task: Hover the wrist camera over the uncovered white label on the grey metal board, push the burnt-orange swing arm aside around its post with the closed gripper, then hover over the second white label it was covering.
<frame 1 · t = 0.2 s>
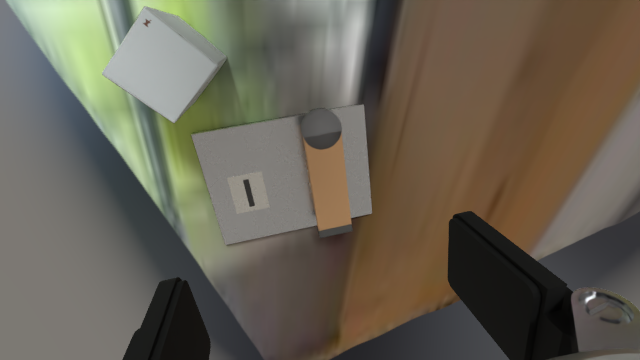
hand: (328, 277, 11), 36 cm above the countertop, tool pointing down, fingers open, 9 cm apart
supplement box: (187, 60, 40), on the countertop
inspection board: (290, 176, 49), on the countertop
swing arm: (327, 175, 45), point 4 cm above the countertop, hinge at 0.0°
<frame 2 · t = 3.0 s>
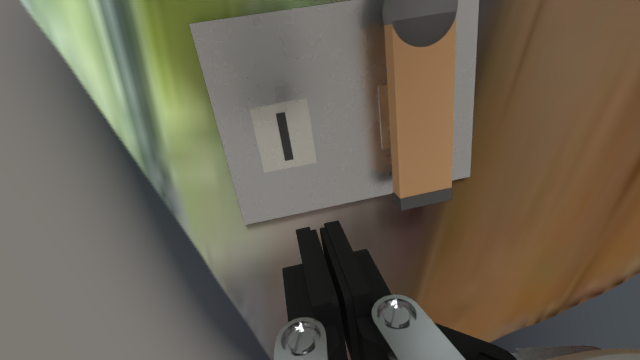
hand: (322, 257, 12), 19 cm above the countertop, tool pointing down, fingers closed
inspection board: (350, 111, 30), on the countertop
swing arm: (420, 101, 27), point 4 cm above the countertop, hinge at 0.0°
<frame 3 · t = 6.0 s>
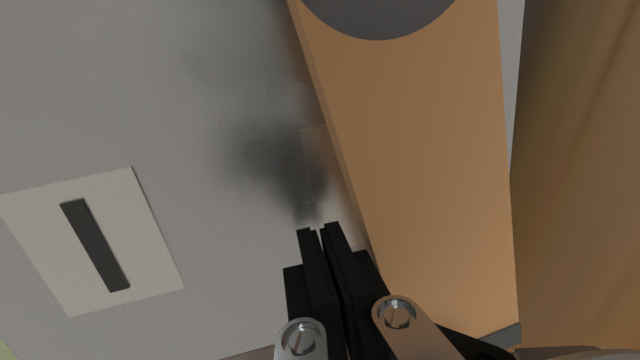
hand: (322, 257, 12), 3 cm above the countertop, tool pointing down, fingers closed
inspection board: (250, 181, 14), on the countertop
swing arm: (421, 167, 11), point 4 cm above the countertop, hinge at 8.6°, touching gripper
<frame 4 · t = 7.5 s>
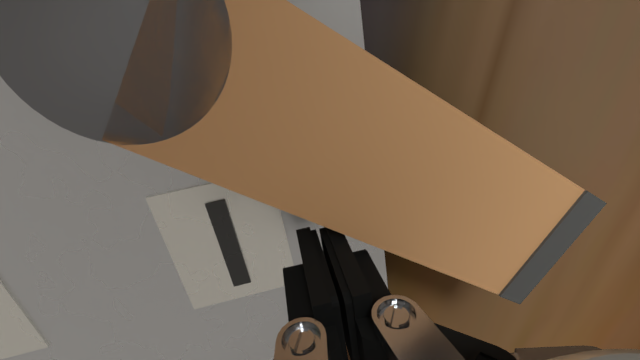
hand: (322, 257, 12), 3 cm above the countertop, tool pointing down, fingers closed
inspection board: (110, 242, 14), on the countertop
swing arm: (354, 148, 10), point 4 cm above the countertop, hinge at 51.8°, touching gripper
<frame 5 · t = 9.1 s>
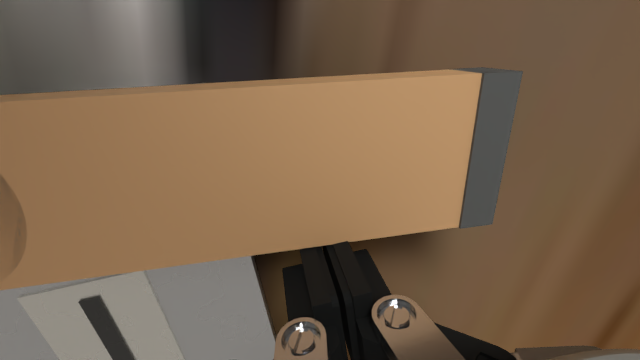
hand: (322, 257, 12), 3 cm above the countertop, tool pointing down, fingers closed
swing arm: (198, 175, 9), point 4 cm above the countertop, hinge at 83.8°, touching gripper
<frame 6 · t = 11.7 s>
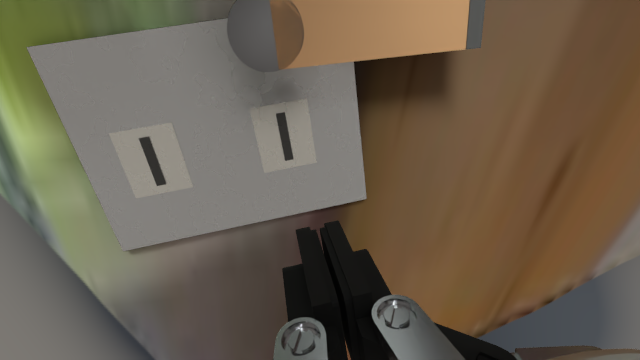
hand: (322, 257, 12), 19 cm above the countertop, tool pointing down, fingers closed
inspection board: (227, 134, 29), on the countertop
swing arm: (359, 23, 24), point 4 cm above the countertop, hinge at 87.1°
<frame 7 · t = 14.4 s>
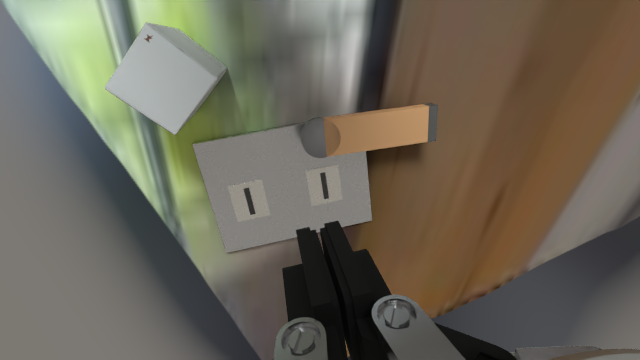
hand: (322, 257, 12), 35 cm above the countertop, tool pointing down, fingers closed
supplement box: (188, 72, 41), on the countertop
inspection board: (290, 184, 49), on the countertop
swing arm: (369, 131, 44), point 4 cm above the countertop, hinge at 87.1°
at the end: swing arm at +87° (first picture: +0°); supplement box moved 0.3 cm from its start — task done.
